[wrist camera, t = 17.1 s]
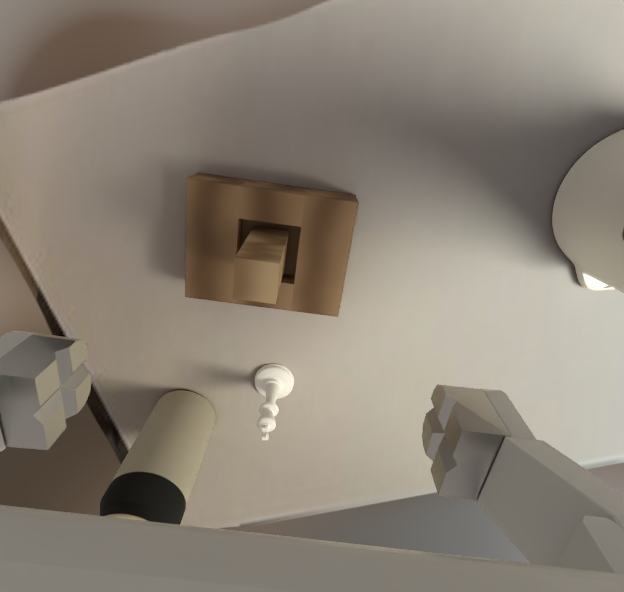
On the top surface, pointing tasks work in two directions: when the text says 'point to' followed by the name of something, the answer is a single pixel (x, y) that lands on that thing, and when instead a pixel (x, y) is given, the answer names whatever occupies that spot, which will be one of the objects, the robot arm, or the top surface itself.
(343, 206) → the socket block
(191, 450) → the travel mug
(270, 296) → the pin
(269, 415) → the chess piece
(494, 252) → the top surface
